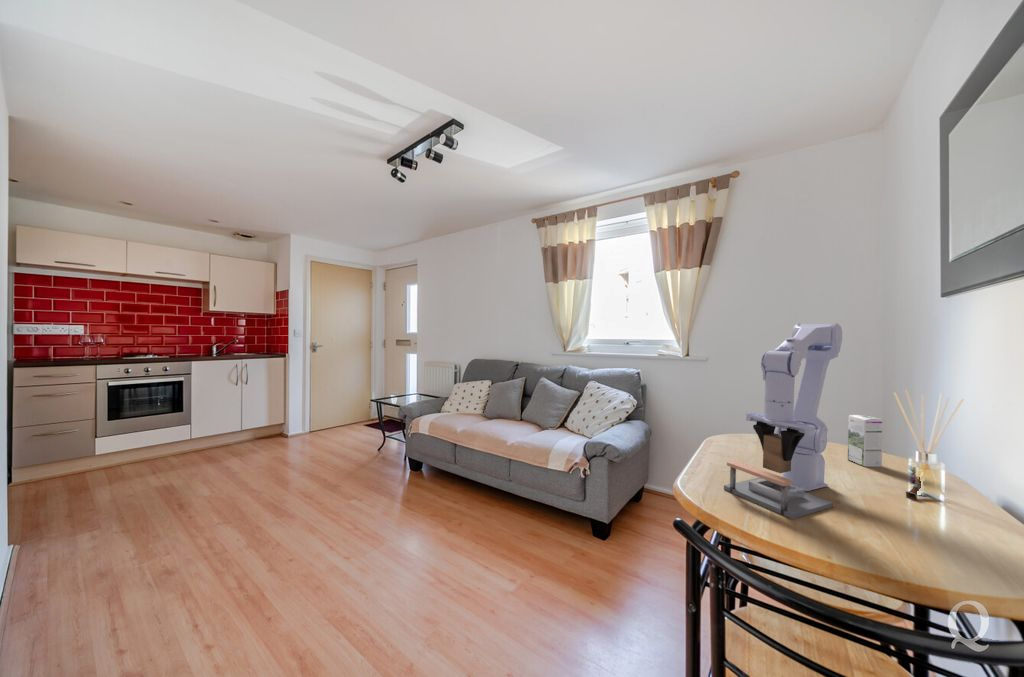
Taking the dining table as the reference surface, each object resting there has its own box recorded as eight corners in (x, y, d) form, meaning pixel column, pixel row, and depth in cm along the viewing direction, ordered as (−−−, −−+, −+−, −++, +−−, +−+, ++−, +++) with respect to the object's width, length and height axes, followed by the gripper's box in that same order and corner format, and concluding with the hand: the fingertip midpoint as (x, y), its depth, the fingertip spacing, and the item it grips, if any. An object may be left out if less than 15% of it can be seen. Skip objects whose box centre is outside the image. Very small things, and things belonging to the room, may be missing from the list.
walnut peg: (773, 465, 92) (774, 433, 92) (790, 471, 89) (791, 437, 88) (762, 467, 91) (763, 434, 90) (780, 473, 87) (781, 439, 87)
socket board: (762, 480, 100) (763, 452, 100) (832, 506, 85) (834, 474, 85) (721, 489, 94) (721, 460, 94) (789, 520, 79) (790, 485, 79)
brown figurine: (929, 490, 93) (927, 475, 93) (918, 509, 90) (916, 493, 89) (919, 487, 95) (917, 472, 94) (907, 506, 92) (905, 490, 91)
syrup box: (882, 467, 111) (884, 419, 111) (862, 466, 111) (864, 418, 111) (865, 460, 117) (866, 414, 117) (846, 460, 117) (847, 414, 117)
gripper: (738, 396, 94) (737, 449, 95) (802, 408, 81) (800, 469, 81) (757, 395, 97) (755, 446, 97) (821, 405, 84) (819, 465, 84)
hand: (777, 457), depth 90 cm, fingers closed on walnut peg, 4 cm apart
